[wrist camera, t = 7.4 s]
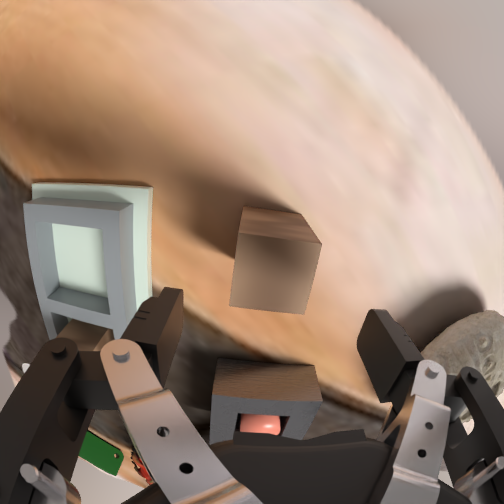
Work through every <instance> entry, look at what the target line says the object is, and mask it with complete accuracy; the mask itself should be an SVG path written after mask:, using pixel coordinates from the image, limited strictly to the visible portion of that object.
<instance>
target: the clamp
mask: <svg viewBox="0 0 504 504" xmlns="http://www.w3.org/2000/svg"><path fill="white" fill-rule="evenodd" d="M114 454H116V458H115V457H114ZM79 456H80V457H82V458H83V459H85V460H87V461H88V462H90V463H92V464H93V465H94V466H96V467H98V468H100V469H102V470H104V471H105V472H107V473H109V474H112V475H114V476H116V475H117V473H118V470H119V468H120V466H121V463H122V461H123V459H124V456H123V453H122V452H121V451H120V450H118V449H116V448H114V447H113V446H111V445H109V444H108V443H106V442H104V441H103V440H101V439H99V438H98V437H96V436H94V435H93V434H91V433H90V432H88V431H87V433H86V435H85V438H84V441H83V444H82V447H81V450H80V453H79Z"/></svg>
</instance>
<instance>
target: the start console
mask: <svg viewBox="0 0 504 504" xmlns="http://www.w3.org/2000/svg"><path fill="white" fill-rule="evenodd" d="M322 402H323V400H322V396H321V392H320V387H319V383H318V379H317V375H316V371H315V367H314V366H311V365H290V364H275V363H263V362H252V361H242V360H234V359H225V358H218V360H217V366H216V372H215V379H214V385H213V392H212V404H211V422H210V441H209V444H210V445H211V444H214V443H217V442H221V441H226V440H233V434H234V431H240V424H241V413H244V414H256V415H273V416H279V417H280V432H279V434H278V436H283V437H288V438H293V439H298V440H302V439H303V437H304V435H305V434H306V432H307V430H308V428H309V426H310V425H311V423H312V421H313V419H314V417H315V415H316V413H317V411H318V409H319V407H320V406H321V404H322Z"/></svg>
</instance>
